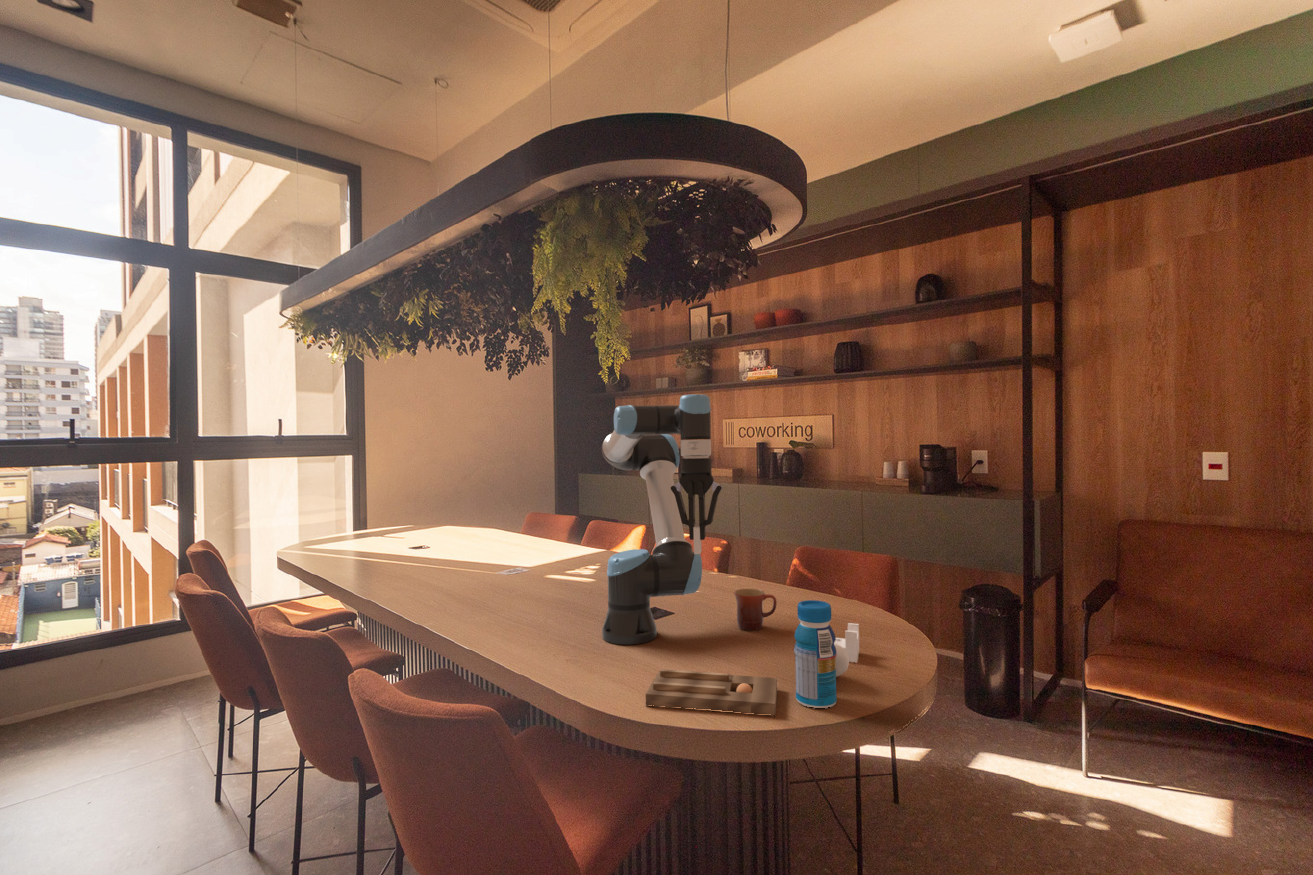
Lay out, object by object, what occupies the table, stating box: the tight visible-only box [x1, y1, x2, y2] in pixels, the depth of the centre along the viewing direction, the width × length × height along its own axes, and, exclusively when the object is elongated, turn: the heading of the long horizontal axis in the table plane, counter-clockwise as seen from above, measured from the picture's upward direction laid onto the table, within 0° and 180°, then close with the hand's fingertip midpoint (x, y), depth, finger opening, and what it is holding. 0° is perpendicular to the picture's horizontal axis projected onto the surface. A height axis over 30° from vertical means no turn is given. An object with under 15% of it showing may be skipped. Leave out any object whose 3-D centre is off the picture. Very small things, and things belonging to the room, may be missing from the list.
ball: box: [736, 683, 753, 693], centre depth 125 cm, size 3×3×3 cm
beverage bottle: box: [793, 599, 837, 709], centre depth 124 cm, size 8×8×20 cm
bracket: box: [834, 622, 860, 664], centre depth 151 cm, size 13×7×8 cm, turn 67°
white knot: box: [834, 643, 850, 678], centre depth 136 cm, size 11×12×9 cm
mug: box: [733, 588, 778, 632], centre depth 174 cm, size 12×9×10 cm
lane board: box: [645, 668, 778, 716], centre depth 127 cm, size 26×13×4 cm, turn 77°
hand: (697, 552), depth 149 cm, fingers closed
